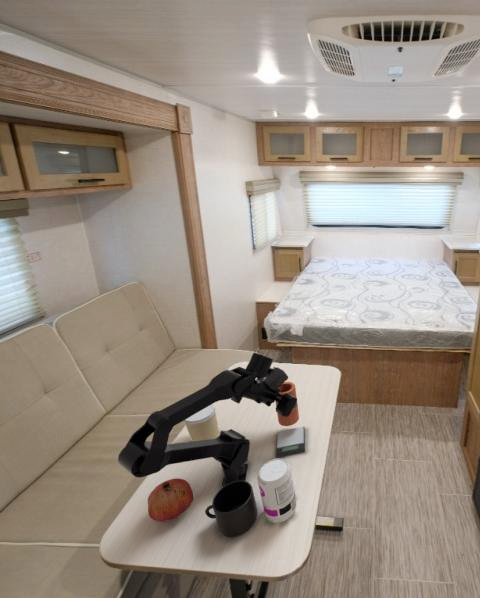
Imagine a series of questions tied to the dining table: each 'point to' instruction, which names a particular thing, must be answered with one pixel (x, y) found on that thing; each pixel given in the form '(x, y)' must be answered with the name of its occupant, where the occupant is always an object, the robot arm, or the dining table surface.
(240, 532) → the mug
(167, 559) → the dining table surface
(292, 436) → the scale
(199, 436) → the coffee cup
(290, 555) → the dining table surface
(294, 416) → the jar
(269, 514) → the supplement can
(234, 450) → the robot arm
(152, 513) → the fruit
